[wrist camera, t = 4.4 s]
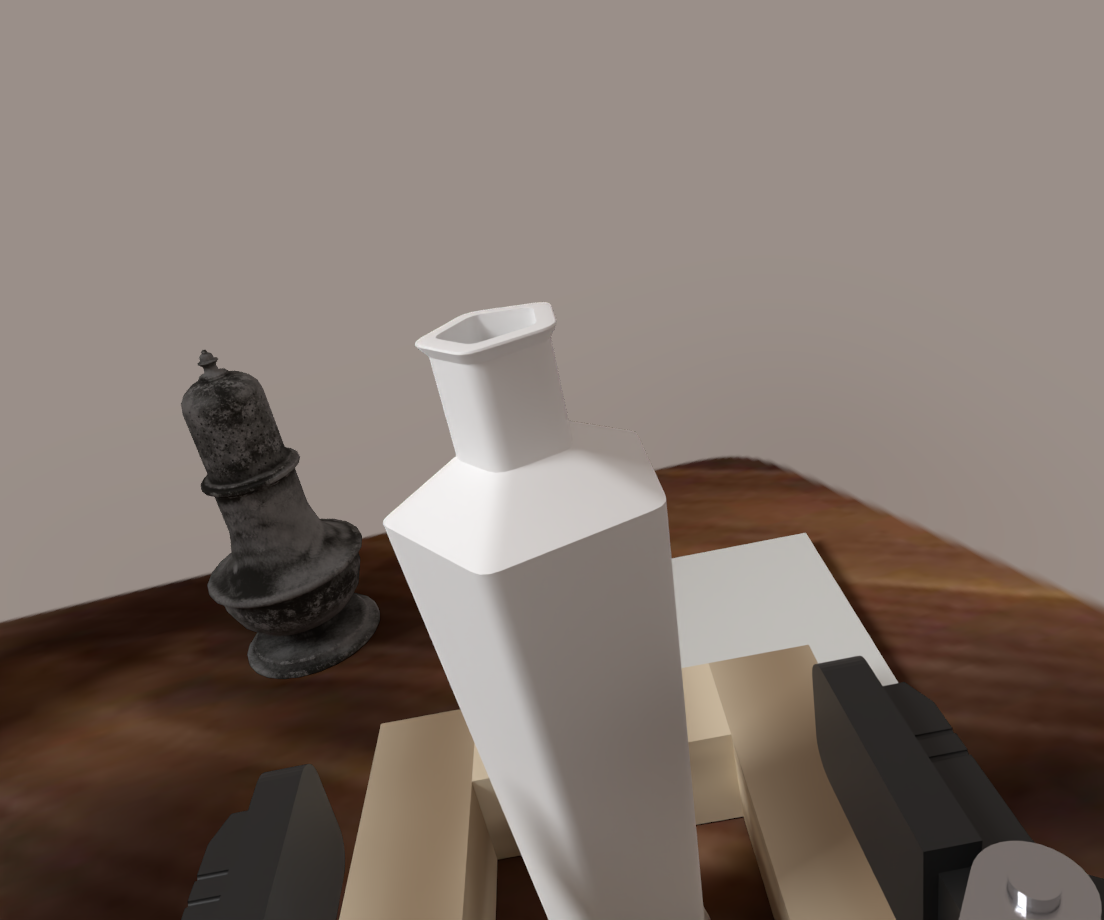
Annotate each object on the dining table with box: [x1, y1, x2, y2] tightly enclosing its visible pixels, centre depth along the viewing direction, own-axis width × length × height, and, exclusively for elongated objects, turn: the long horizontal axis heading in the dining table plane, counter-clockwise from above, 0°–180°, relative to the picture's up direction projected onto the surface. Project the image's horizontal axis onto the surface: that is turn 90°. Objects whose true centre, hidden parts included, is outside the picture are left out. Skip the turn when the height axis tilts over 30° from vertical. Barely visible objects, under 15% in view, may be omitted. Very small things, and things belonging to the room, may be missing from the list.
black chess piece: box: [181, 350, 380, 679], centre depth 31 cm, size 6×6×12 cm
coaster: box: [672, 533, 898, 686], centre depth 28 cm, size 9×9×1 cm
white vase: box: [383, 302, 711, 920], centre depth 16 cm, size 5×4×15 cm
